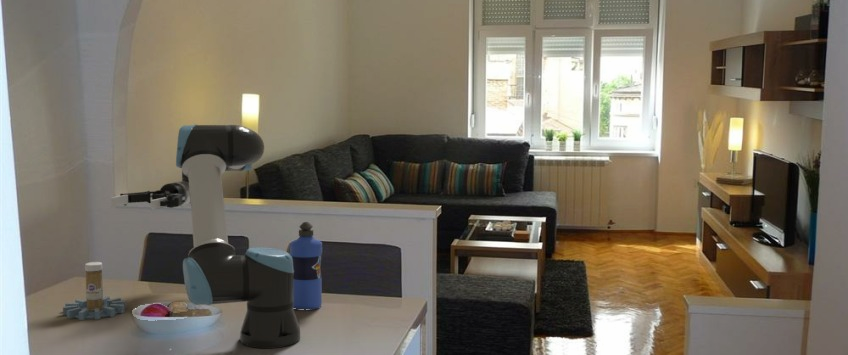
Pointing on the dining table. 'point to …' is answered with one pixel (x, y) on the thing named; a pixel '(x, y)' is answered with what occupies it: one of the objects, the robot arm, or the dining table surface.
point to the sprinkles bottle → (94, 285)
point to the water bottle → (306, 269)
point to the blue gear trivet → (82, 313)
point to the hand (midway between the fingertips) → (131, 203)
